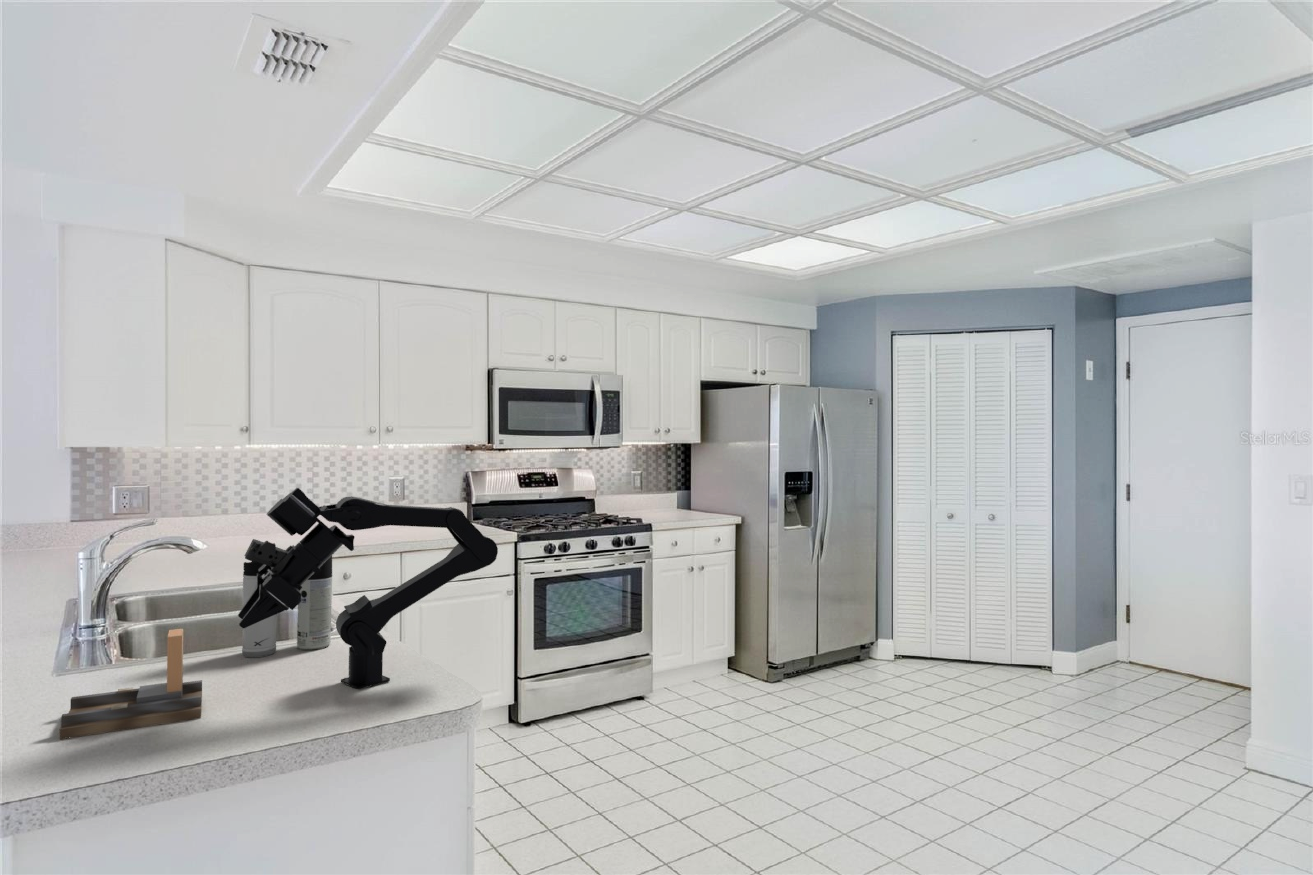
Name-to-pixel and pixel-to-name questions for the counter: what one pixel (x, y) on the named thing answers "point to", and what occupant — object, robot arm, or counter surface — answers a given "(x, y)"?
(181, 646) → the fader tab
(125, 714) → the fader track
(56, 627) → the counter surface
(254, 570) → the travel mug
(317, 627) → the spray can
